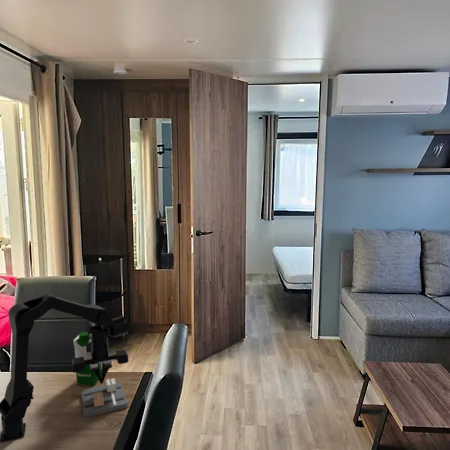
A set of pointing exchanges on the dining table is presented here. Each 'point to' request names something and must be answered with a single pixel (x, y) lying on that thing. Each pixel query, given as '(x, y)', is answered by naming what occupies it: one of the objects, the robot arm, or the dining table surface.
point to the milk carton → (80, 351)
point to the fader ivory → (110, 385)
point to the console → (111, 400)
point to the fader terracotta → (98, 399)
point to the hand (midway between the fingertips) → (101, 382)
